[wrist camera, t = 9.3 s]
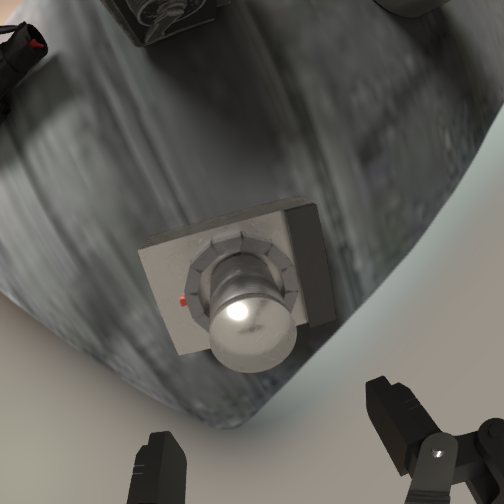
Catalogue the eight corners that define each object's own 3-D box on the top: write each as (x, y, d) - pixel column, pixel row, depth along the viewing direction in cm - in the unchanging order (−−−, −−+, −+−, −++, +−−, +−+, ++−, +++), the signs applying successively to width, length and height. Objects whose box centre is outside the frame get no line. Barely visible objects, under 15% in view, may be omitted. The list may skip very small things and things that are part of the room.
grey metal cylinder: (265, 247, 24) (288, 287, 17) (278, 304, 26) (302, 360, 18) (202, 264, 24) (197, 311, 17) (220, 319, 26) (223, 380, 18)
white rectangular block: (297, 195, 29) (318, 205, 22) (316, 292, 31) (338, 322, 25) (150, 235, 28) (132, 255, 22) (183, 328, 31) (177, 365, 25)
